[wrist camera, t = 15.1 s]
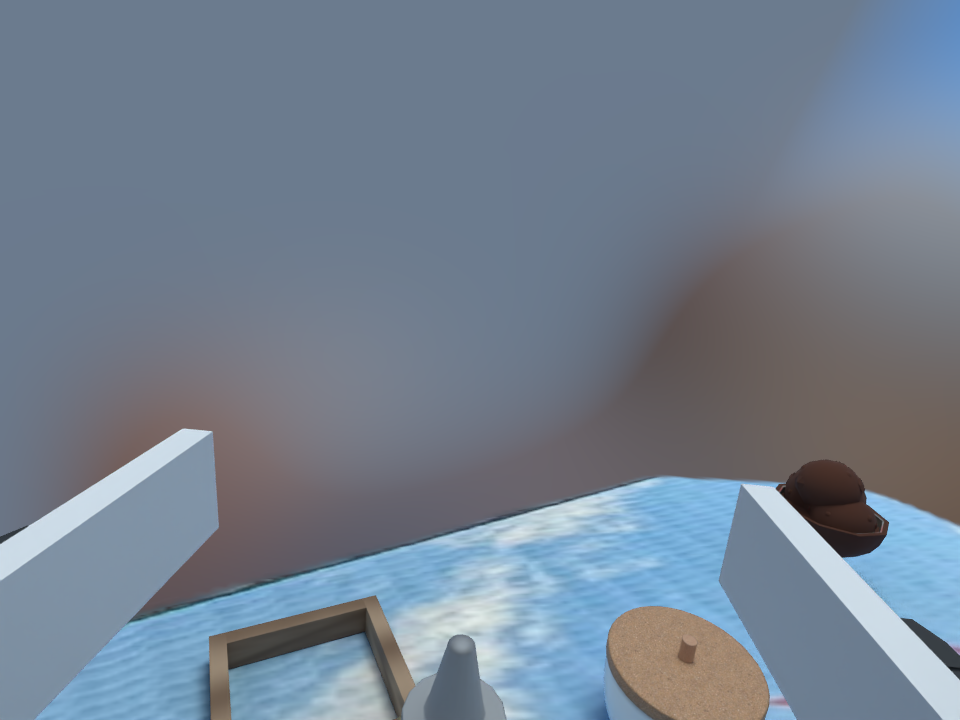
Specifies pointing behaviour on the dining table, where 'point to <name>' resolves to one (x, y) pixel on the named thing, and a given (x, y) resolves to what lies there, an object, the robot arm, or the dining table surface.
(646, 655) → the lidded jar
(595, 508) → the dining table surface
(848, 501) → the ice cream bowl
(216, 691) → the wooden frame
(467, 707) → the squeeze bottle
